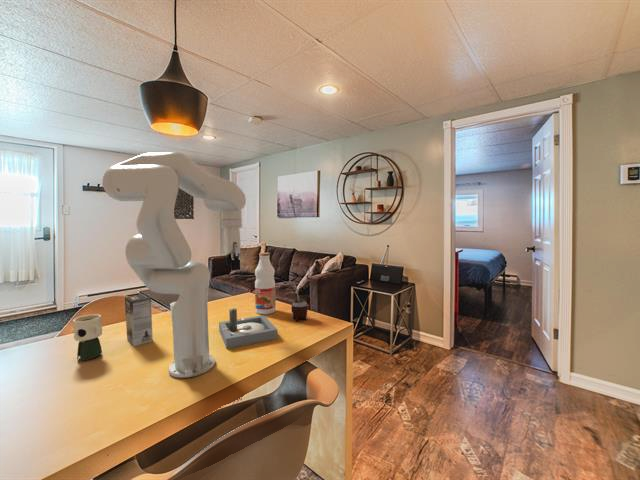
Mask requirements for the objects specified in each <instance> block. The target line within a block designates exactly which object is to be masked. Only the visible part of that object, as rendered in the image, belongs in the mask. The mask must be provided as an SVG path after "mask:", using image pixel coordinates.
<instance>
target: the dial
mask: <svg viewBox="0 0 640 480" xmlns="http://www.w3.org/2000/svg"><path fill="white" fill-rule="evenodd" d="M237 311H238V309H237V308H230V309H229V321H230V334H231V336H233V335H238V334H244V333H249V332H255V331H261V330H264V326H263V325H262V324H260V323H242V324H238V325H237V319H238V312H237Z"/></svg>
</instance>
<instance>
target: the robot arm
mask: <svg viewBox="0 0 640 480" xmlns="http://www.w3.org/2000/svg"><path fill="white" fill-rule="evenodd" d="M102 187H103V190H104V191H105V193H106V194H107V195H108V196H109V197H110V198H112V199H113V200H116V201H118V202H119V201H120V202H142V204H141V208H140V210H139V213H138V215H137V219H136V228H137V232H138V234H136V235H133V236H132V237H130V239H129V240H128V241H127V243H126V245H125V249H124V250H125V259H126V261H127V264H128V265H129V267H130V268H131V269H132V270H133V272H134V273H135V274H136V276H137V277H138V278H139V280H140V281H141V283H143V285H144V286H145V287H146V288H147V289H148V290H150V291H151V292H153V293H156V294H164V295H165V294H169V295H179V296H178V298H177V300H176V301H175V302H176V303H175V305H174V306H173V309H172V318H171V323H173V326H172V339H173V343H172V344H173V361H172V362H171V364H169V366H168V374H169V376H171V377H174V378H178V379H179V378H180V379H181V378H182V379H184V378H191V377H197V376H200V375H203V374H205V373H207V372H208V371H210V370H211V369H212V368H214V366H215V363H216V358H215V357H214V356H213V355H211V354H210V344H209V342H210V341H209V340H210V339H209V317H208V316H209V314H208V298H209V296H208V293H209V288H210V287H209V286H210V280H211V271H210V269H209V267H208V266H207V265H206V264H204V263H203V262H199V261H196V260H195V261H193V260H191V259H192V250H191V247H190V245H189V243H188V241H187V239H186V237H185V235H184V234H183V232H182V230H181V228H180V226H179V224H178V222H177V221H176V217H175V206H176V202H177V201H176V200H177V196H178V193H179V189H180V190H182V191H183V192H185V193H187V194H188V195H190V196H191V197H192V198H193V197H194V198H197V199H202V200H203V204H204V206H205V207H206V209H208V210H210V211H213V212H220V217H221V219H220V220H221V221H220V222H221V229H223V252H224V253H225V254H226V266H227V267H230V269H231V271H240V270H241V257H240V253H241V247H242V246H241V231H240V230H241V229H242V228H243V222H242V221H243V218H242V216H243V215H242V210H243V209H244V208H245V206H246V204H247V203H246V202H247V198H246V194H245V193H244V191H243V190H242V189H241V187H240V186H238V185H237V184H236V183H235V182H234V181H231V180H228V179H226V178H223V177H221V176H218V175H214V174H211V173H208V172H207V171H205V170H204V169H203V168H201V166H199V165H198V164H197V163H196V162H194V161H193V160H192V159H191V158H190V157H189V156H188V155H185V154H184V153H182V152H179V151H164V152H163V151H162V152H161V151H159V152H146V153H142V154H140V155H137V156H134V157H132V158H129V159H127V160H124V161H122V162H119V163H117V164H114V165H112V166H111V167H109V168H108V169H106V171H105V173H104V174H103V176H102Z"/></svg>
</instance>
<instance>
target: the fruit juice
mask: <svg viewBox="0 0 640 480" xmlns="http://www.w3.org/2000/svg"><path fill="white" fill-rule="evenodd" d="M258 255H259V260H258V263H257V265H256V268H255V270H254V275H255V281H254V300H255V301H254V302H255V305H254V306H255V313H256V314H259V315H271V314H274V313H275V312H276V310H277V309H276V308H277V306H276V305H277V304H276V303H277V302H276V281H275V273H276V272H275V268H274V267H273V265H272V263H271V260H270V257H271V256H270V255H271V254H270V252H268V251H267V252H265V251H264V252H259V253H258Z"/></svg>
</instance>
